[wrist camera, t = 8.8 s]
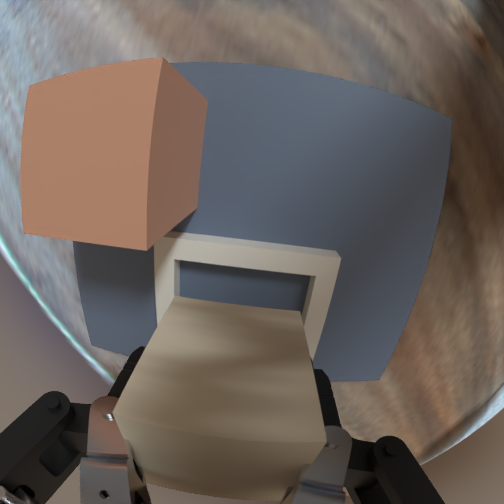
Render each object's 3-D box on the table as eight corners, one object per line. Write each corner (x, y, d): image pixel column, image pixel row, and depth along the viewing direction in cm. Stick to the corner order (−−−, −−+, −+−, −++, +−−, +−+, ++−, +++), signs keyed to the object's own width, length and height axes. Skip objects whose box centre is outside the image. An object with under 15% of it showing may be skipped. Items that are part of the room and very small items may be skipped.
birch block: (300, 311, 11) (327, 441, 5) (278, 393, 12) (283, 500, 7) (175, 295, 11) (112, 412, 5) (178, 380, 12) (146, 482, 7)
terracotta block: (208, 101, 11) (163, 57, 5) (197, 208, 12) (146, 250, 7) (112, 104, 11) (29, 86, 5) (105, 200, 12) (23, 233, 7)
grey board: (437, 120, 12) (463, 117, 9) (373, 366, 17) (383, 389, 15) (95, 80, 11) (71, 72, 9) (100, 333, 17) (84, 353, 15)
